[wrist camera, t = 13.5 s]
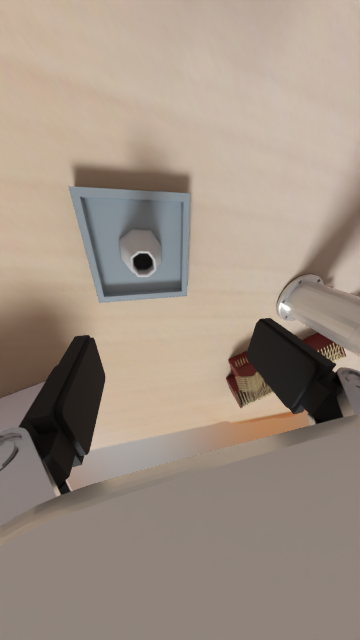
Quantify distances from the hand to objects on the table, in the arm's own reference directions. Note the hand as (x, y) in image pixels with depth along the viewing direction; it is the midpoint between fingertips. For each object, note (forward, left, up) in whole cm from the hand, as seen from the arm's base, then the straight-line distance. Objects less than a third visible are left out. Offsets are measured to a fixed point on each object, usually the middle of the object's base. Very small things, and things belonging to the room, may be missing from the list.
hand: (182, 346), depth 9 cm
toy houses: (-42, +28, -25) cm, 57 cm away
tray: (+2, -2, -24) cm, 24 cm away
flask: (+2, -2, -23) cm, 23 cm away
